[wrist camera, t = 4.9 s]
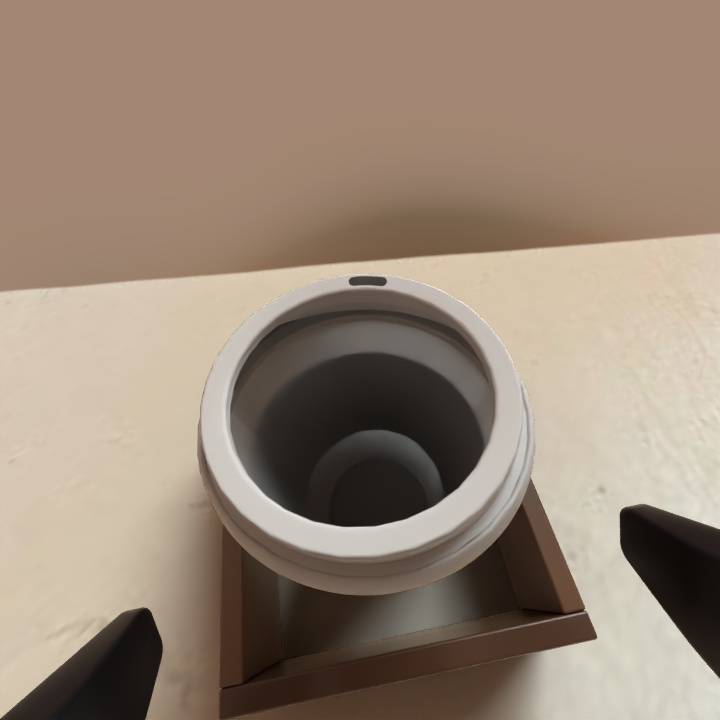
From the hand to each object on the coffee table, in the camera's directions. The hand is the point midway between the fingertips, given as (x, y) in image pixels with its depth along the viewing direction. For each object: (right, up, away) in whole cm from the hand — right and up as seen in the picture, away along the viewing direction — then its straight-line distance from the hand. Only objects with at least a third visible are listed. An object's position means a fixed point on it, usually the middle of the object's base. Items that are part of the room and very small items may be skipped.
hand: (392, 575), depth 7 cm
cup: (0, -3, +10) cm, 11 cm away
